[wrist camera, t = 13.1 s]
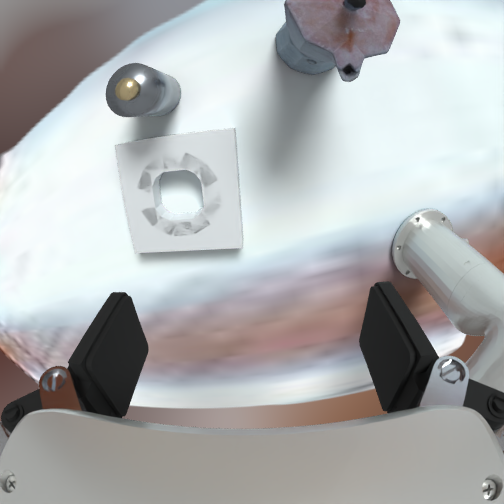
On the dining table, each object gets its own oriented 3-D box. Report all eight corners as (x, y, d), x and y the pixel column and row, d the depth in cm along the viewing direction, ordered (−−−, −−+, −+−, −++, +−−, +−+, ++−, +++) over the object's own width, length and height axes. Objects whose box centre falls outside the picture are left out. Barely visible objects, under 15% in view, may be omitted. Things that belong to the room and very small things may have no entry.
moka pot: (276, 96, 33) (301, 73, 15) (264, -3, 26) (272, -86, 8) (347, 95, 33) (427, 84, 15) (333, -1, 26) (389, -69, 8)
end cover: (179, 70, 31) (151, 55, 21) (182, 112, 34) (155, 111, 24) (138, 79, 32) (99, 70, 22) (141, 119, 34) (102, 122, 24)
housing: (235, 128, 35) (234, 128, 32) (243, 239, 42) (242, 248, 40) (124, 142, 36) (114, 145, 33) (141, 244, 43) (135, 253, 40)
